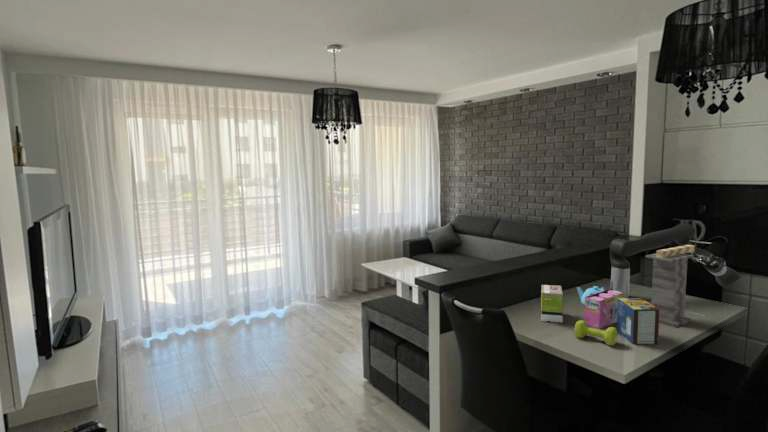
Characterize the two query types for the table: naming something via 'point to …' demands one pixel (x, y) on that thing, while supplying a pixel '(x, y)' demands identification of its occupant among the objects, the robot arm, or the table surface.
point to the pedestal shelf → (670, 288)
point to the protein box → (638, 321)
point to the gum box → (602, 308)
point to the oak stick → (675, 251)
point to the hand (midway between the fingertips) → (701, 254)
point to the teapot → (588, 292)
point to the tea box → (551, 303)
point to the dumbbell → (596, 332)
